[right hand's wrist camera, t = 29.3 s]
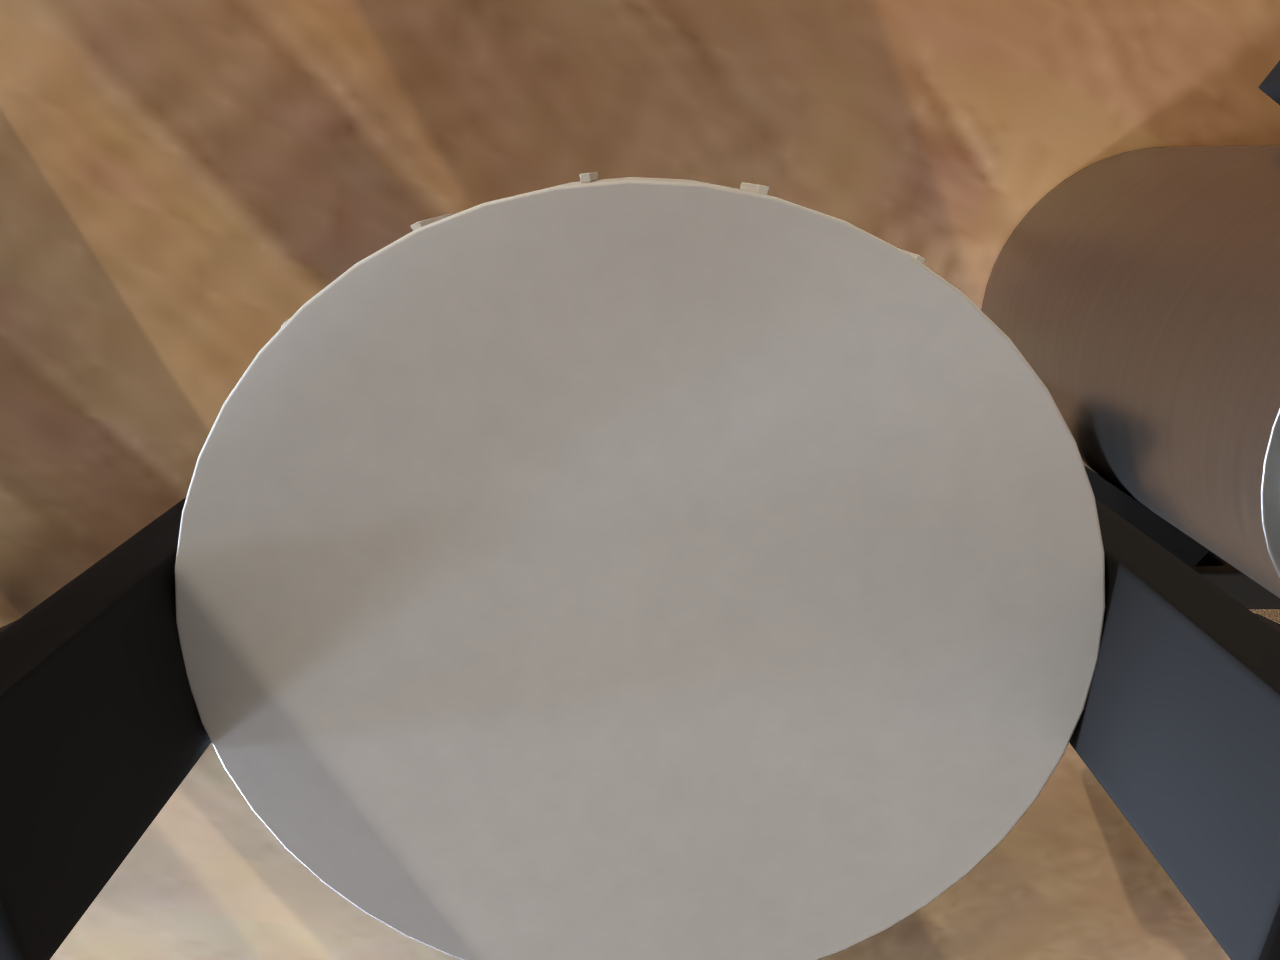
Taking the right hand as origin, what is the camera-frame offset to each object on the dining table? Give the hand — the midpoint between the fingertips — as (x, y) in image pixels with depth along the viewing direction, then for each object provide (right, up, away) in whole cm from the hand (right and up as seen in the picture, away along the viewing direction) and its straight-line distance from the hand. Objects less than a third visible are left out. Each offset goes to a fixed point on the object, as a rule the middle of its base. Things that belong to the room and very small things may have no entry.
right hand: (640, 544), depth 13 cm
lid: (0, -1, -3) cm, 3 cm away
